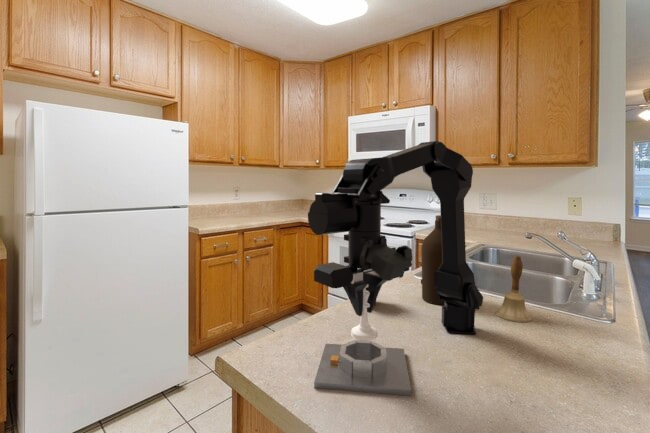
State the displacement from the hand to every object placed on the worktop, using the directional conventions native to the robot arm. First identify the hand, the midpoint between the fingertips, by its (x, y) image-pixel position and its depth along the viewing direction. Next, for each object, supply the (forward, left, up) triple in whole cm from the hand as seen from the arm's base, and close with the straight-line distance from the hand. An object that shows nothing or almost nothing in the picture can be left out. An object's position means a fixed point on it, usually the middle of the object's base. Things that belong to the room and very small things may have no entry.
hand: (363, 313), depth 62 cm
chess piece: (0, 0, -4) cm, 4 cm away
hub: (0, 0, -11) cm, 11 cm away
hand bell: (-38, -31, -11) cm, 50 cm away
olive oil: (-21, -41, -11) cm, 47 cm away
